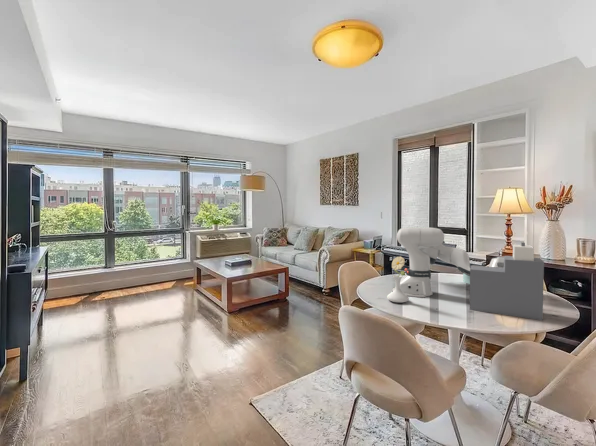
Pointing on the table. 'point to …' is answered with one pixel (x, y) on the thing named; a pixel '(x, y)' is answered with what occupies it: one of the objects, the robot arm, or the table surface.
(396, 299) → the flower in vase
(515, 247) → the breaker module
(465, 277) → the mint green angled piece
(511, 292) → the stand
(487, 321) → the table surface
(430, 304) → the table surface
